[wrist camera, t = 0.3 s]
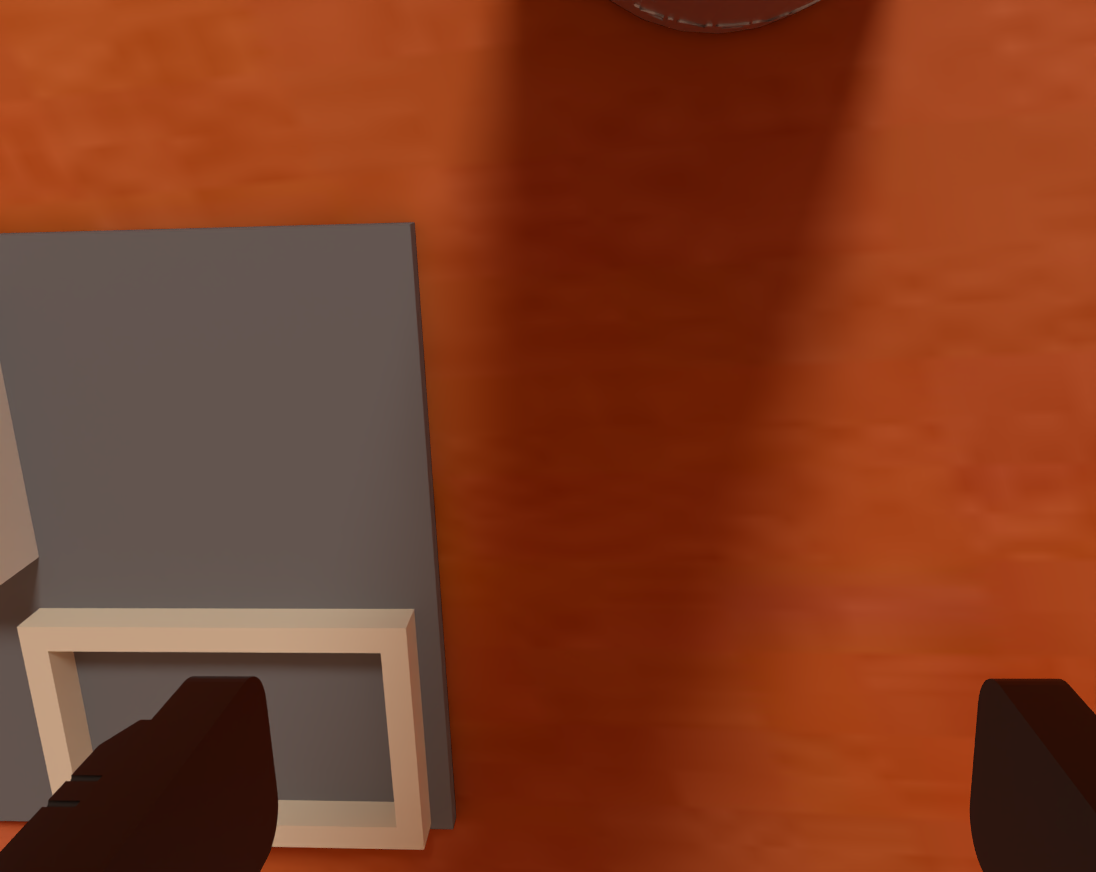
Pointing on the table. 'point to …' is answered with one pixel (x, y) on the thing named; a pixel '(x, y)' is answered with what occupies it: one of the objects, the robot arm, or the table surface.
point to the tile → (12, 501)
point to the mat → (228, 511)
